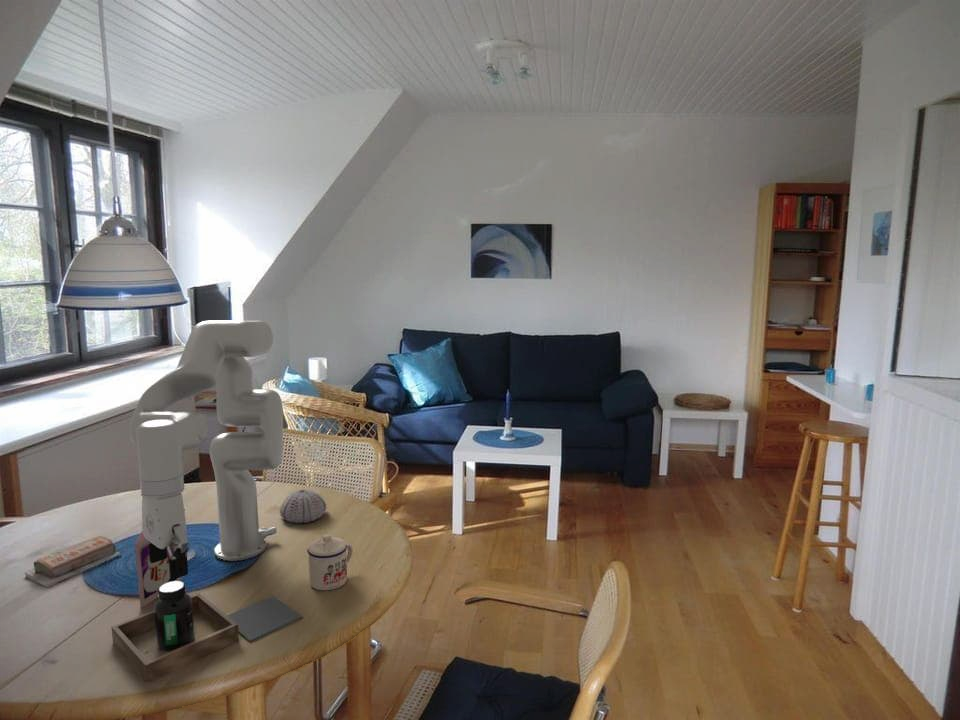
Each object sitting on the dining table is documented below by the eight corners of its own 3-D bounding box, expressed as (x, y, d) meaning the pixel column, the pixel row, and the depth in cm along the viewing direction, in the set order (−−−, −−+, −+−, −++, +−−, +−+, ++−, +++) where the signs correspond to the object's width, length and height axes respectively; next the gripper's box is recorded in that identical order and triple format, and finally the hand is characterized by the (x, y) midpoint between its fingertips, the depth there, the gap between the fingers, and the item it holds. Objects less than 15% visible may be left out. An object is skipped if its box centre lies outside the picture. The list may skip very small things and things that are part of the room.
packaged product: (97, 531, 170) (120, 539, 165) (99, 548, 171) (122, 557, 166) (22, 559, 155) (44, 570, 150) (24, 578, 156) (47, 589, 151)
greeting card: (143, 608, 142) (137, 544, 139) (118, 602, 145) (112, 539, 142) (183, 583, 153) (179, 523, 150) (159, 577, 155) (154, 518, 153)
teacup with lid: (326, 595, 148) (324, 548, 146) (300, 583, 153) (298, 537, 151) (365, 574, 157) (363, 529, 155) (339, 563, 162) (338, 520, 160)
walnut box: (200, 607, 143) (199, 592, 142) (239, 640, 131) (238, 624, 130) (113, 642, 130) (111, 626, 129) (147, 682, 118) (145, 665, 117)
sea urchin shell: (302, 530, 182) (301, 503, 180) (269, 519, 189) (268, 493, 187) (336, 514, 193) (335, 488, 191) (304, 504, 200) (303, 479, 198)
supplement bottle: (177, 655, 126) (172, 598, 124) (149, 648, 128) (144, 592, 126) (202, 635, 132) (198, 581, 130) (175, 629, 135) (170, 575, 132)
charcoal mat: (273, 597, 147) (273, 595, 147) (302, 617, 139) (302, 616, 139) (222, 619, 138) (222, 617, 138) (250, 642, 130) (249, 640, 130)
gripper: (124, 479, 127) (131, 561, 130) (160, 501, 116) (167, 590, 118) (164, 470, 133) (170, 549, 135) (202, 490, 121) (207, 576, 124)
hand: (168, 568), depth 127 cm, fingers open, 9 cm apart
